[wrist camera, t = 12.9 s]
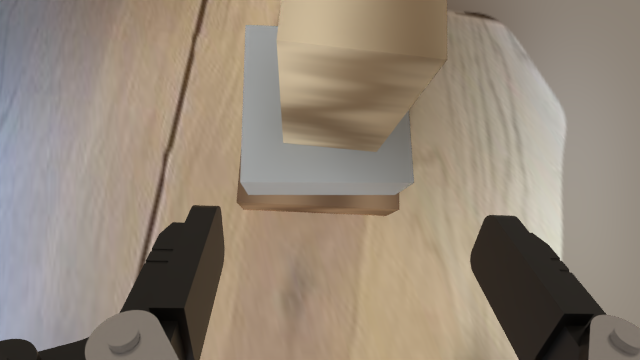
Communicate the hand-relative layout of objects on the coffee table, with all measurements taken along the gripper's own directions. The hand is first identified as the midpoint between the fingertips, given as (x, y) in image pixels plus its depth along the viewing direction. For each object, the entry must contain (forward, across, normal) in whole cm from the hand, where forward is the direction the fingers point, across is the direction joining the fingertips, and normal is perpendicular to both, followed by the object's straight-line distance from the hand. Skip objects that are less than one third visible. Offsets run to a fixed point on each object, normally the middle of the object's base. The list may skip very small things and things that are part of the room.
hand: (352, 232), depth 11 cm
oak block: (+13, 0, 0) cm, 13 cm away
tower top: (+15, 0, +3) cm, 16 cm away
